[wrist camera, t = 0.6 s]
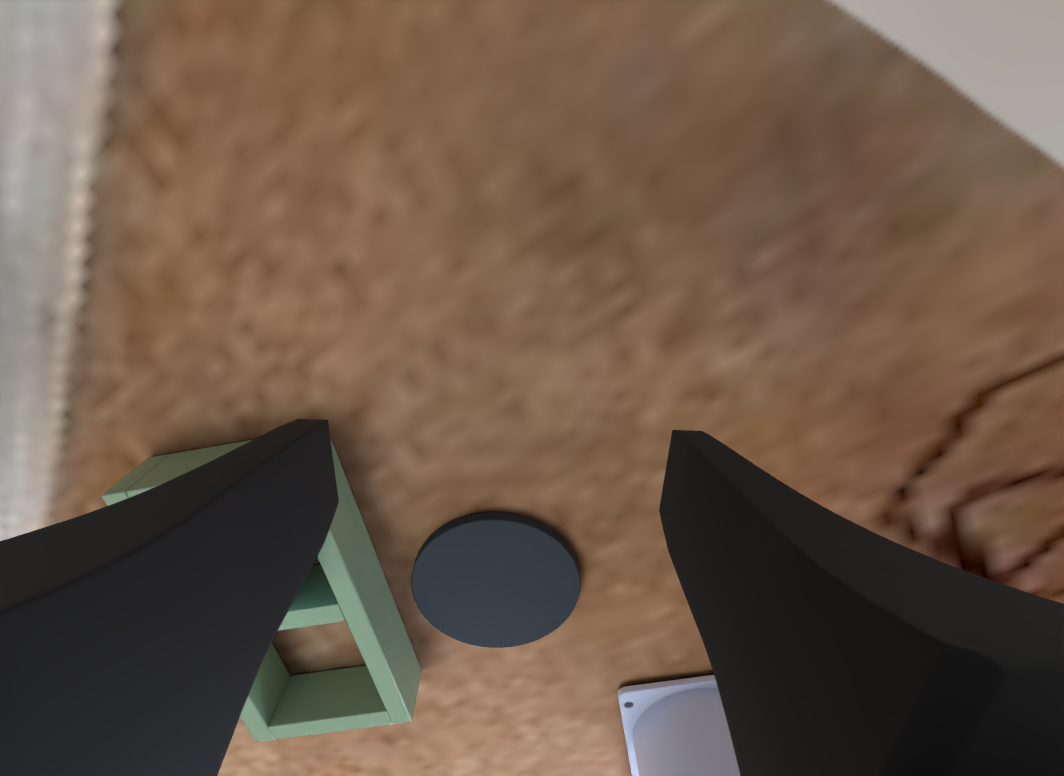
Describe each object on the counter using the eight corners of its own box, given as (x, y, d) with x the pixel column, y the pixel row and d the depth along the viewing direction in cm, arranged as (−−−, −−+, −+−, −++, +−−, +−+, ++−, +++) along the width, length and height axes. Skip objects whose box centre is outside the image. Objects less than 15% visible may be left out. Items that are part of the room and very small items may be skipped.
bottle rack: (327, 426, 22) (300, 462, 19) (422, 670, 28) (412, 722, 26) (148, 456, 23) (99, 495, 20) (279, 690, 29) (255, 742, 26)
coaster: (589, 626, 27) (591, 636, 26) (437, 647, 27) (435, 657, 27) (565, 498, 24) (566, 507, 23) (393, 525, 24) (389, 534, 24)
